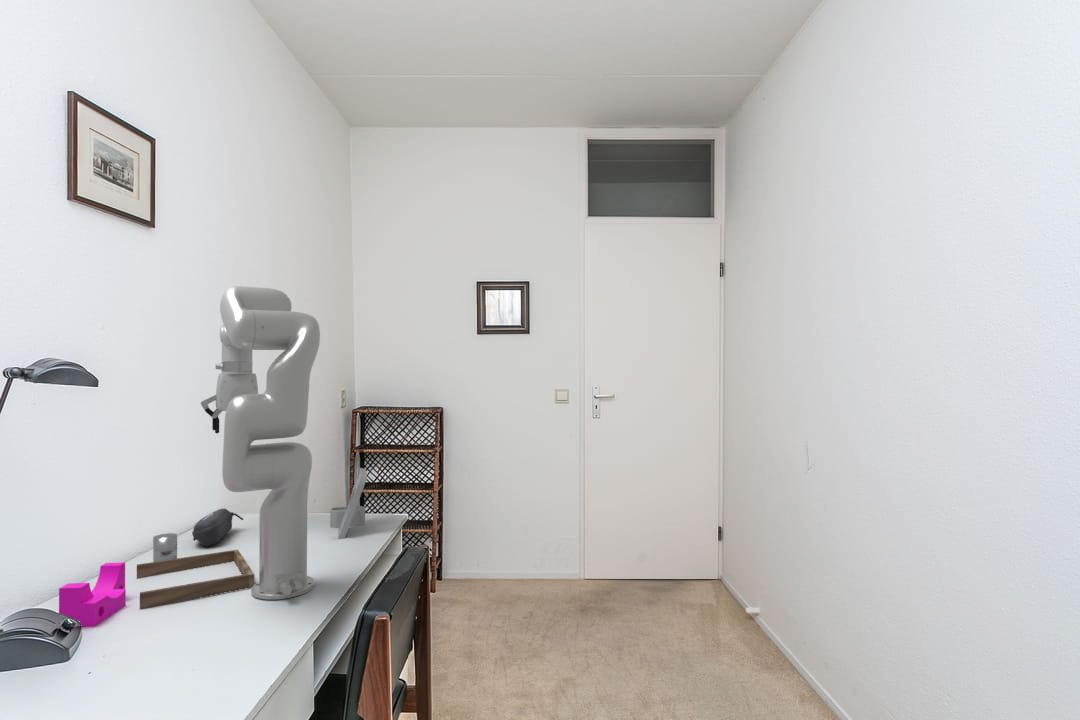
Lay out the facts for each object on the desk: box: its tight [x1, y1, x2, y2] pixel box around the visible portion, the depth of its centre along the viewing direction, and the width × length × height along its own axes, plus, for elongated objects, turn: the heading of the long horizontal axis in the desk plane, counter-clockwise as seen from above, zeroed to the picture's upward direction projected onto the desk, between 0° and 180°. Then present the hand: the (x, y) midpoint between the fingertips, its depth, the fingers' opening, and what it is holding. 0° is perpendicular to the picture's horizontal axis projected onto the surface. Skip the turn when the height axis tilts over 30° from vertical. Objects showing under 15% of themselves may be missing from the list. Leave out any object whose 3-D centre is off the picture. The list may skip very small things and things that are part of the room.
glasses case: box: [191, 508, 244, 548], centre depth 173 cm, size 18×10×8 cm, turn 13°
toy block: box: [58, 561, 127, 628], centre depth 124 cm, size 15×6×8 cm, turn 6°
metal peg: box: [152, 532, 178, 562], centre depth 153 cm, size 5×5×7 cm
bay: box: [136, 549, 255, 610], centre depth 140 cm, size 22×21×3 cm
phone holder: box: [329, 467, 368, 540], centre depth 180 cm, size 17×10×18 cm, turn 17°
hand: (237, 431), depth 170 cm, fingers open, 9 cm apart
